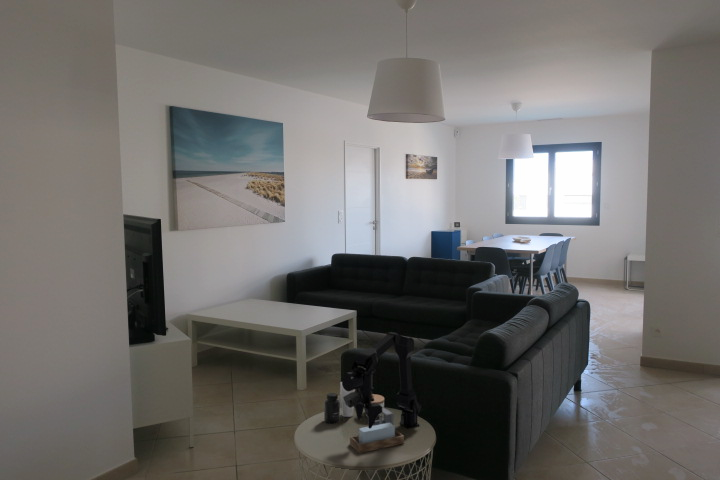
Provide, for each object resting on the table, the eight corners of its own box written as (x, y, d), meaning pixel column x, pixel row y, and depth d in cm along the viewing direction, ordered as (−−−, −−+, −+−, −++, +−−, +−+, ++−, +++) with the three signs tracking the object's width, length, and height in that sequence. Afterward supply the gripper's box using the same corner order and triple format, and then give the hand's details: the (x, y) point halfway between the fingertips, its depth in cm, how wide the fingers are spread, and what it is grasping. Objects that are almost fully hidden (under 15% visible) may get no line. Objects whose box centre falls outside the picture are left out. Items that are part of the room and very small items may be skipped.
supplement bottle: (337, 424, 235) (337, 397, 235) (322, 423, 237) (322, 396, 236) (341, 418, 242) (341, 392, 241) (326, 417, 243) (326, 391, 243)
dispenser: (385, 425, 235) (385, 407, 234) (393, 431, 229) (393, 413, 228) (372, 428, 232) (372, 410, 231) (380, 434, 226) (380, 415, 225)
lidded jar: (368, 421, 240) (368, 400, 239) (356, 412, 249) (356, 392, 248) (388, 416, 245) (388, 396, 244) (376, 408, 254) (376, 389, 254)
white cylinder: (357, 413, 248) (357, 381, 247) (351, 419, 242) (352, 386, 241) (343, 411, 250) (343, 379, 249) (337, 417, 244) (338, 384, 243)
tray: (393, 435, 225) (393, 428, 225) (403, 443, 217) (404, 435, 217) (349, 444, 216) (350, 437, 216) (359, 452, 208) (359, 445, 208)
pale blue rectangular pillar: (389, 436, 221) (389, 422, 221) (394, 440, 218) (394, 426, 217) (358, 443, 215) (358, 428, 215) (363, 447, 211) (363, 432, 211)
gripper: (336, 380, 217) (336, 419, 218) (357, 395, 200) (356, 436, 201) (361, 377, 222) (360, 414, 223) (383, 391, 205) (382, 431, 206)
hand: (364, 423), depth 213 cm, fingers open, 9 cm apart
